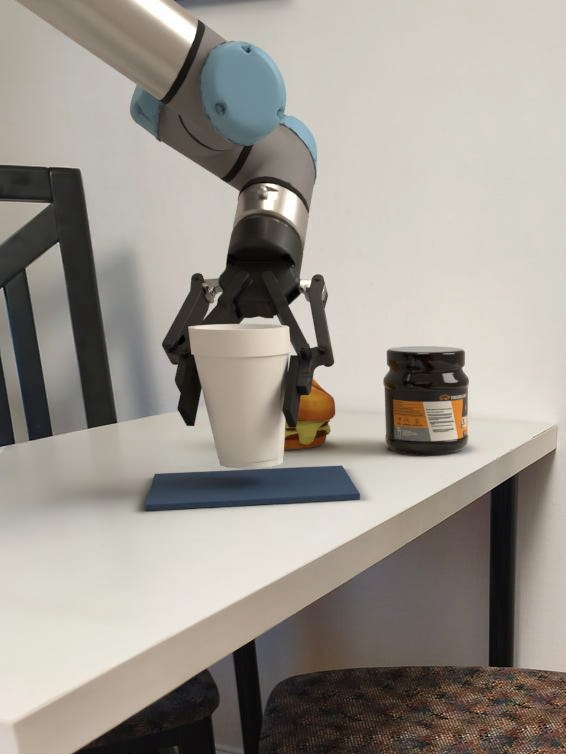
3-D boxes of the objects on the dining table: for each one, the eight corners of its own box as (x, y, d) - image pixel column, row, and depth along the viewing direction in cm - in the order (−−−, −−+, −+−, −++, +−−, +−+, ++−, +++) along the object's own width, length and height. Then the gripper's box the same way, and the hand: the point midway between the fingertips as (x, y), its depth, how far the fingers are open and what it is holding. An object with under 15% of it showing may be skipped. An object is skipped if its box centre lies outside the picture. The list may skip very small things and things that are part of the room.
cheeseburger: (290, 433, 121) (298, 360, 116) (347, 461, 117) (358, 386, 112) (231, 442, 113) (238, 364, 108) (290, 473, 109) (299, 393, 104)
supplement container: (449, 459, 106) (449, 354, 102) (370, 452, 110) (367, 350, 105) (480, 444, 116) (481, 347, 111) (406, 438, 119) (404, 344, 114)
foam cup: (226, 451, 95) (213, 323, 90) (310, 454, 94) (301, 324, 89) (187, 470, 86) (170, 329, 81) (279, 473, 85) (267, 330, 80)
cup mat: (145, 511, 83) (144, 504, 82) (155, 479, 95) (154, 473, 95) (360, 499, 87) (359, 493, 87) (342, 470, 100) (342, 465, 100)
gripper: (152, 212, 91) (108, 392, 83) (366, 213, 90) (344, 395, 82) (177, 268, 98) (139, 439, 89) (376, 270, 97) (357, 443, 88)
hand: (237, 418), depth 85 cm, fingers closed on foam cup, 9 cm apart
